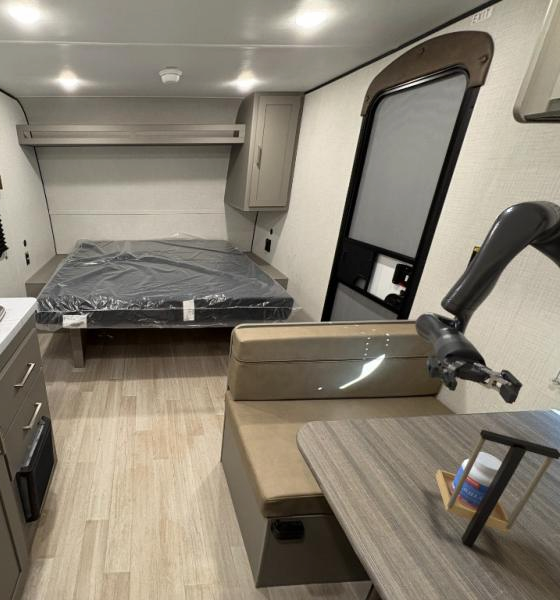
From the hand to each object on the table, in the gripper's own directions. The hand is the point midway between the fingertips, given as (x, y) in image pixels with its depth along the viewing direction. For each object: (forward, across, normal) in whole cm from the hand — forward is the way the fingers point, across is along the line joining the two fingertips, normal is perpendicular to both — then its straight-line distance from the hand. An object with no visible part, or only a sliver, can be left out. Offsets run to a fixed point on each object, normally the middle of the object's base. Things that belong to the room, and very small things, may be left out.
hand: (482, 393), depth 62 cm
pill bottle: (+11, 0, +17) cm, 20 cm away
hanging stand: (+11, 0, +24) cm, 26 cm away
